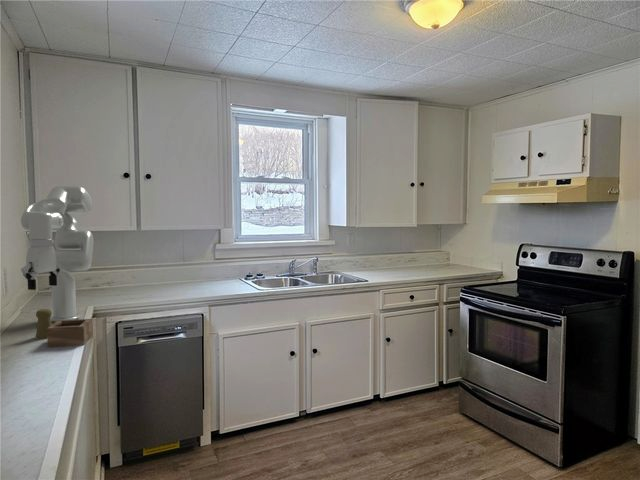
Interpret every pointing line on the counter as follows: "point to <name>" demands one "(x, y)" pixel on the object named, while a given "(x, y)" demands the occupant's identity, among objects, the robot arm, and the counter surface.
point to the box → (69, 332)
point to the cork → (43, 323)
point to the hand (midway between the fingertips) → (42, 287)
